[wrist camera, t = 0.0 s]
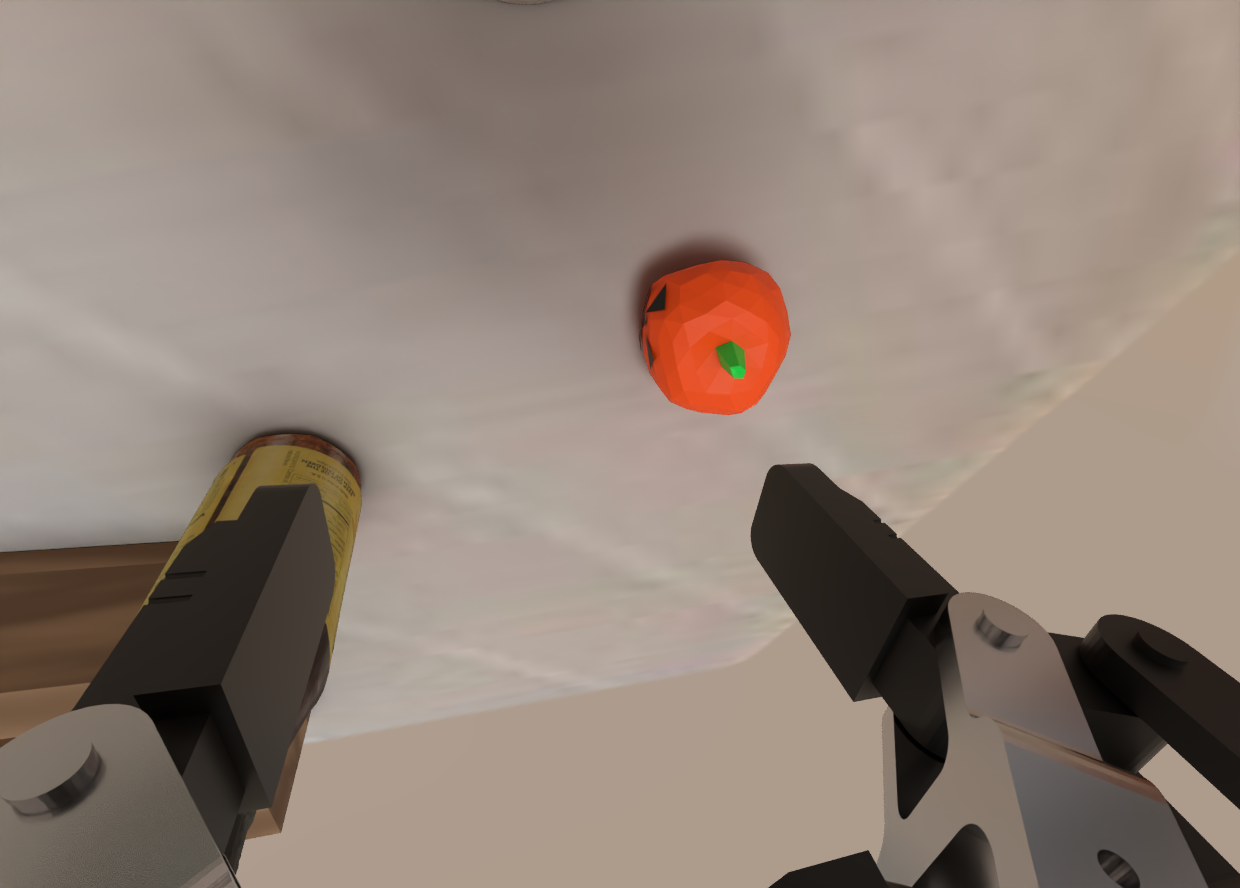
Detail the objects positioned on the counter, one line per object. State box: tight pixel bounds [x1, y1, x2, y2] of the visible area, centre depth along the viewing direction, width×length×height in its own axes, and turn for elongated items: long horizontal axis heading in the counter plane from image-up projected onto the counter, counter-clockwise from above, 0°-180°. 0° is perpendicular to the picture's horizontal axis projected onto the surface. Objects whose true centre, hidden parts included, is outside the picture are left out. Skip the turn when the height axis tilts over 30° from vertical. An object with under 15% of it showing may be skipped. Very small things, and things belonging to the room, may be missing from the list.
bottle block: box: [0, 542, 311, 840], centre depth 27 cm, size 16×16×8 cm
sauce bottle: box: [136, 434, 362, 875], centre depth 19 cm, size 7×6×20 cm
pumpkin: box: [639, 260, 791, 415], centre depth 25 cm, size 7×8×6 cm
